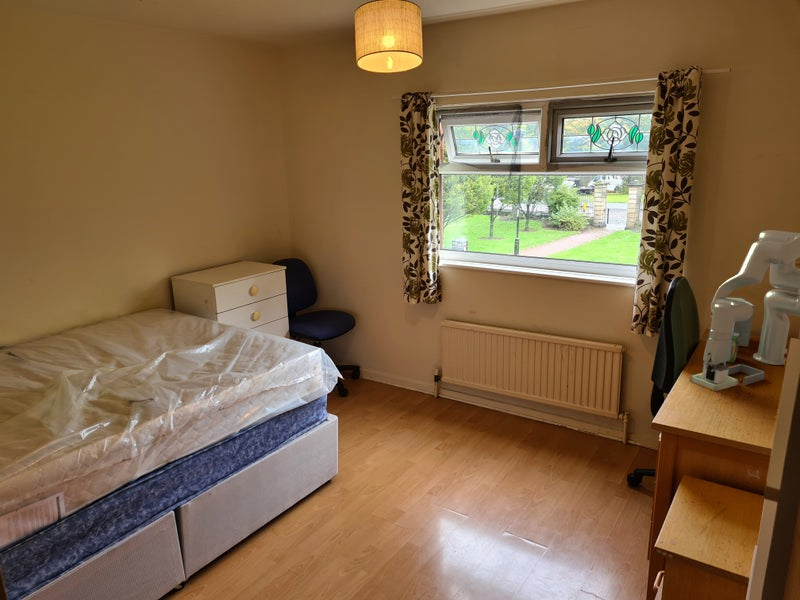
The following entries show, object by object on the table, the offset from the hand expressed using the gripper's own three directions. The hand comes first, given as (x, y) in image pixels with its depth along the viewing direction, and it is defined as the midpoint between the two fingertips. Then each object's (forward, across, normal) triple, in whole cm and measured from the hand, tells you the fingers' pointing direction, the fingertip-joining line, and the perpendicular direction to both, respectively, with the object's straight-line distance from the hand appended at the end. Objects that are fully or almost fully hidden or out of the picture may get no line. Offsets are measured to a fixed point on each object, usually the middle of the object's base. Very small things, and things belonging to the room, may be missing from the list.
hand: (714, 377), depth 216 cm
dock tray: (+2, 0, 0) cm, 2 cm away
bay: (+2, -14, +2) cm, 14 cm away
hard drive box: (+3, -54, -28) cm, 60 cm away
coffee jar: (+3, -41, -26) cm, 49 cm away
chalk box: (+3, -29, -16) cm, 33 cm away
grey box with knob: (+1, 0, 0) cm, 1 cm away
